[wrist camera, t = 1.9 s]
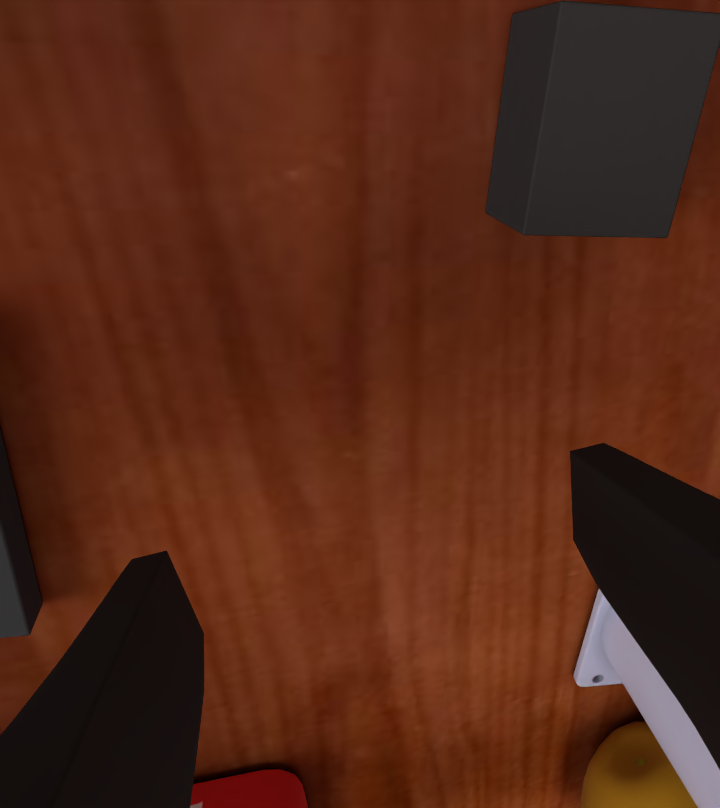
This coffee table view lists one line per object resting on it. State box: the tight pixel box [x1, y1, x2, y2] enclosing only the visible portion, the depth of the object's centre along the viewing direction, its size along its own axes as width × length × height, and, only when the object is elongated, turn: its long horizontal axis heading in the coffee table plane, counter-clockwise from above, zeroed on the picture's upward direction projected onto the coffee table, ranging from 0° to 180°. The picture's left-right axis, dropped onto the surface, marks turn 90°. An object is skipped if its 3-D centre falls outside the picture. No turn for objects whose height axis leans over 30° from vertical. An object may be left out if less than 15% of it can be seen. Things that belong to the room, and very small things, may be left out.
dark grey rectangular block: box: [486, 1, 720, 238], centre depth 16 cm, size 4×5×3 cm
